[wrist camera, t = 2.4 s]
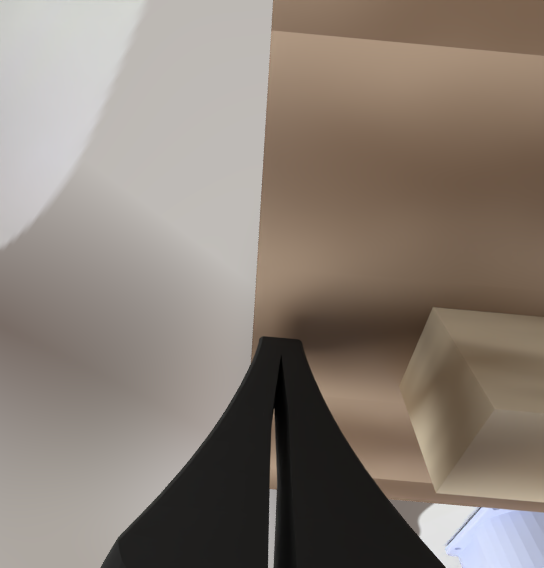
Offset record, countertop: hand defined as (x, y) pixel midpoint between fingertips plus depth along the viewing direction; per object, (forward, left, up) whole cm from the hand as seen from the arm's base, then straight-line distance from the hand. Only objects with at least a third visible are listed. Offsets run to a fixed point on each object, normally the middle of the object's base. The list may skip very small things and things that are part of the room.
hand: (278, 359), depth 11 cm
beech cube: (0, -7, -1) cm, 7 cm away
